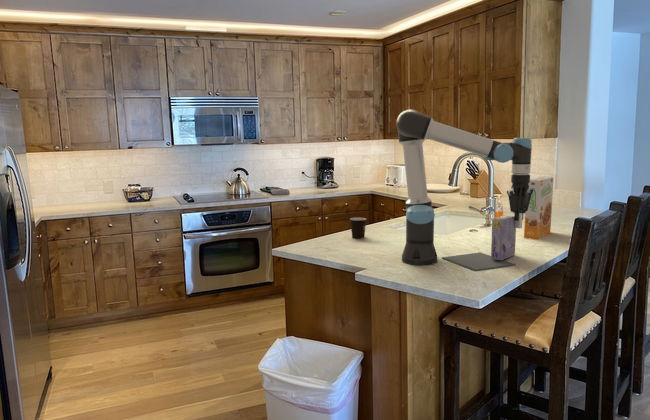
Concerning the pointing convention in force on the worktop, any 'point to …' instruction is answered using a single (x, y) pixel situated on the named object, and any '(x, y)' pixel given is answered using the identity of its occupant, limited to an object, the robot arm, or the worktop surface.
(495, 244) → the cake pan box
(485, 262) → the mat
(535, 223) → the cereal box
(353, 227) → the coffee mug
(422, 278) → the worktop surface
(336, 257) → the worktop surface
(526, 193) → the robot arm
